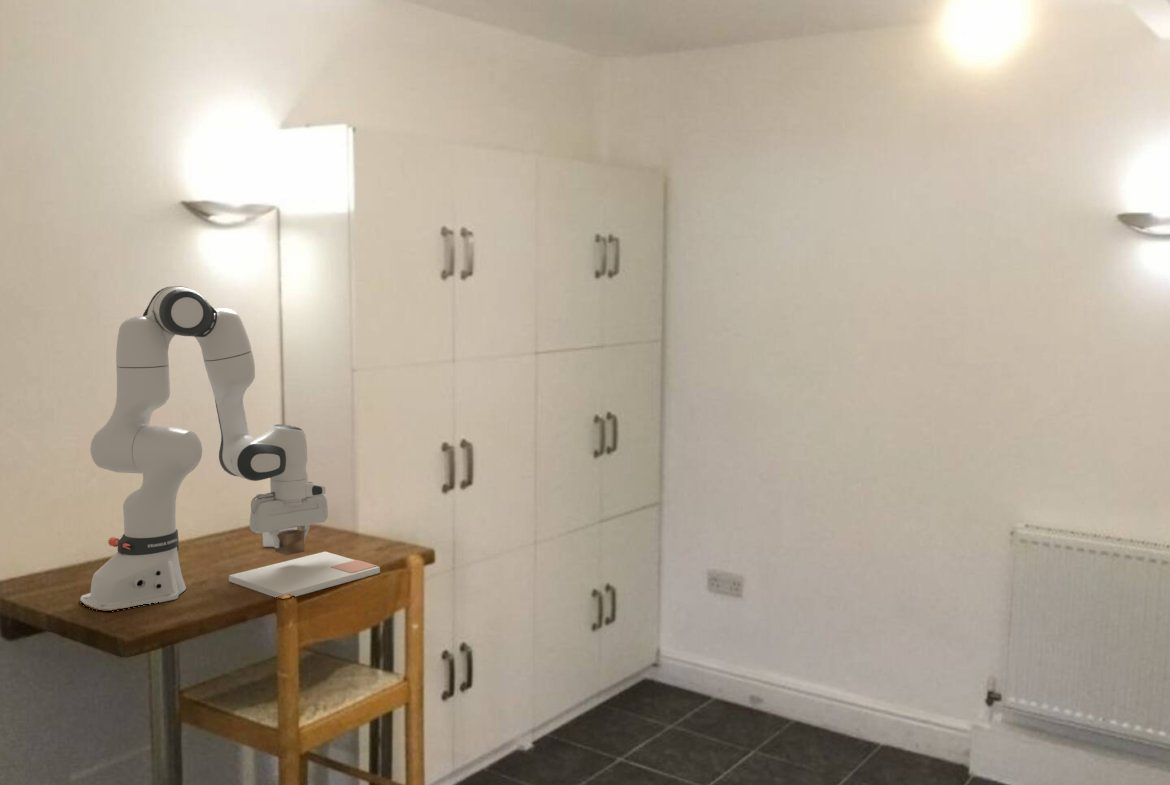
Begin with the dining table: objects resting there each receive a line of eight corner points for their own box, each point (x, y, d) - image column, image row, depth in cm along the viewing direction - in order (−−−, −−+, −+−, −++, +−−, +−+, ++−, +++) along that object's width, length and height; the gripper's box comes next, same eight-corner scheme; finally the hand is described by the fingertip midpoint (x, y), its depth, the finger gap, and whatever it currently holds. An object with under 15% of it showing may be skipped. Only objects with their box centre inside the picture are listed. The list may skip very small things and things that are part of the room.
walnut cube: (286, 555, 260) (286, 535, 260) (275, 551, 263) (275, 531, 263) (304, 551, 264) (304, 531, 263) (293, 548, 267) (292, 528, 267)
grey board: (282, 600, 242) (282, 592, 242) (229, 581, 256) (228, 574, 256) (379, 572, 264) (379, 566, 264) (325, 557, 278) (325, 550, 278)
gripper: (258, 497, 253) (259, 554, 254) (331, 486, 268) (331, 540, 269) (244, 493, 257) (244, 550, 258) (316, 483, 272) (317, 536, 273)
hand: (289, 545), depth 264 cm, fingers closed on walnut cube, 5 cm apart
